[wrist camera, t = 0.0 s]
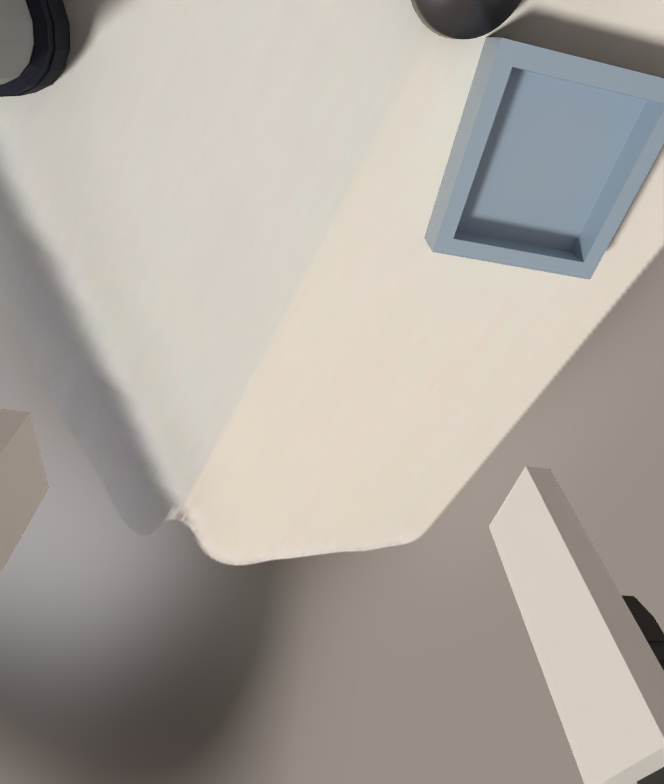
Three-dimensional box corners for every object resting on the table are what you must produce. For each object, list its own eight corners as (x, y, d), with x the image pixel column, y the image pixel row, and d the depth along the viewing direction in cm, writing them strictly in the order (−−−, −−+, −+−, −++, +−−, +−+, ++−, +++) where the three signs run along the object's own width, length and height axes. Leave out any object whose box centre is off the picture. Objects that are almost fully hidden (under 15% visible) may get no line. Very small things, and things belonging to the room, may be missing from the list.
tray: (486, 37, 30) (501, 37, 28) (666, 82, 32) (695, 86, 30) (424, 237, 38) (432, 251, 35) (572, 264, 40) (589, 279, 37)
